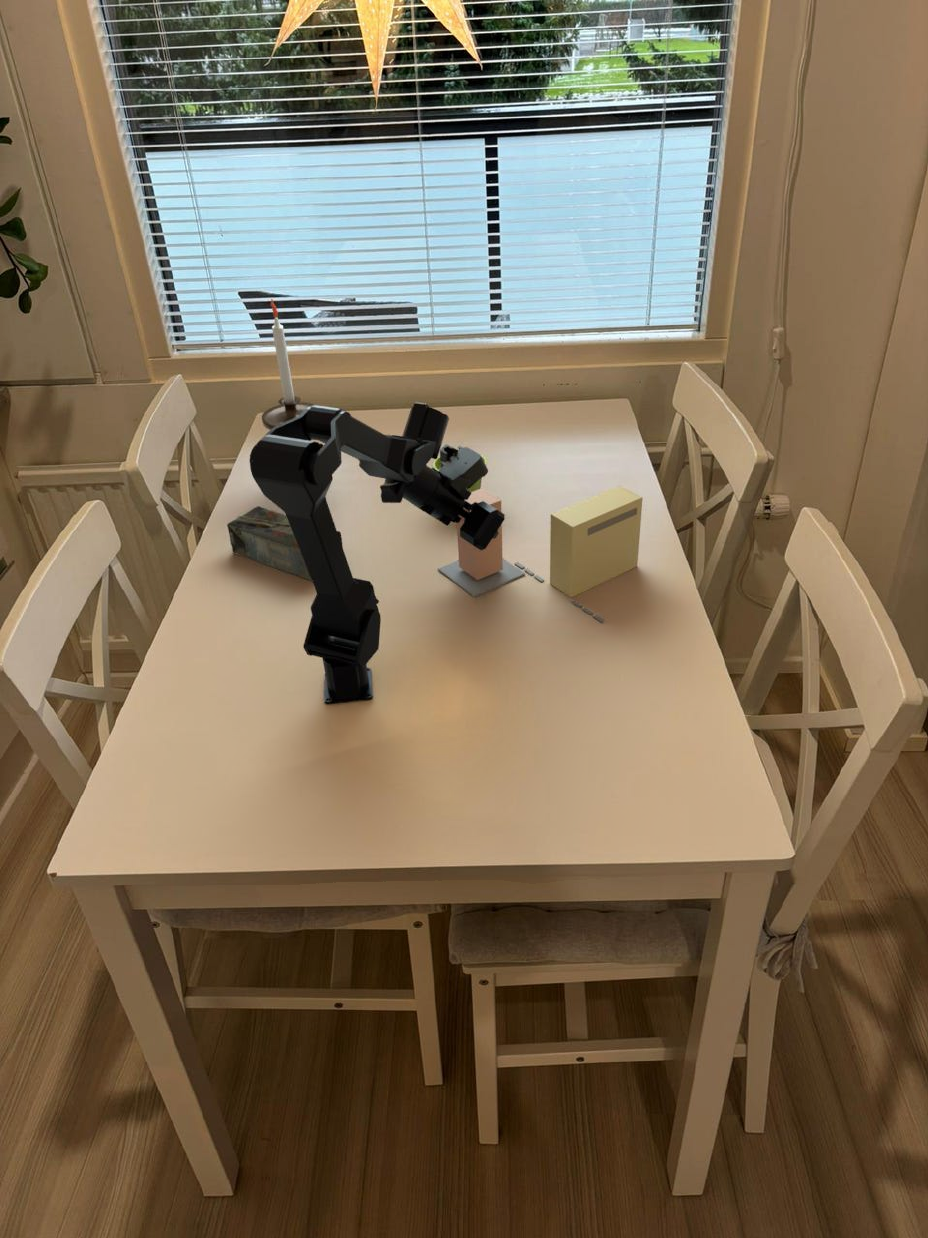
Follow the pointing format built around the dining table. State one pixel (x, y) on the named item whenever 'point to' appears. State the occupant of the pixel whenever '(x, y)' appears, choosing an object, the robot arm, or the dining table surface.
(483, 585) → the coaster
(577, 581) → the block
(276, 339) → the candlestick
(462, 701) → the dining table surface
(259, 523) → the beverage carton
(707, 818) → the dining table surface
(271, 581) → the dining table surface
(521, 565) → the perforation marks
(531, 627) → the dining table surface
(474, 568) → the stub
